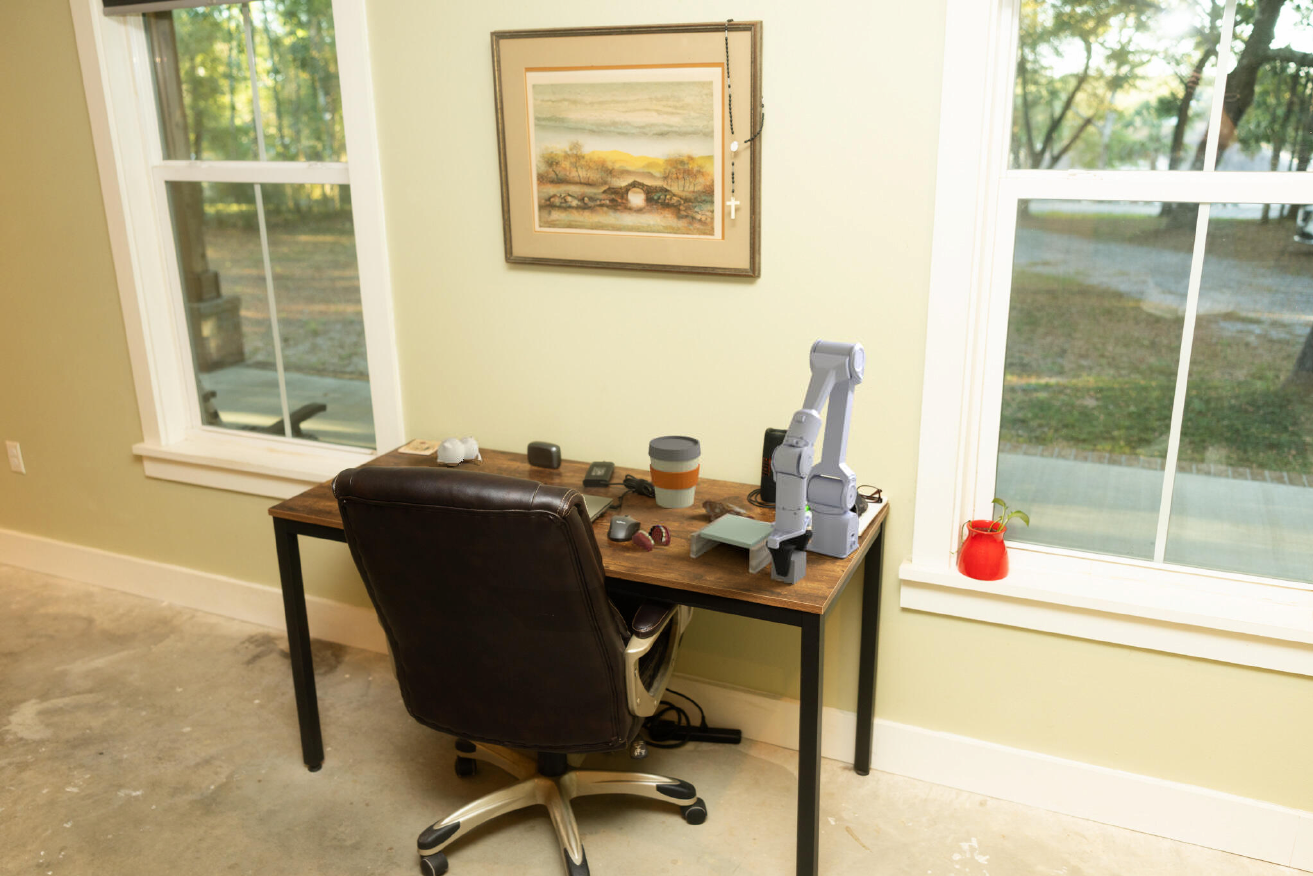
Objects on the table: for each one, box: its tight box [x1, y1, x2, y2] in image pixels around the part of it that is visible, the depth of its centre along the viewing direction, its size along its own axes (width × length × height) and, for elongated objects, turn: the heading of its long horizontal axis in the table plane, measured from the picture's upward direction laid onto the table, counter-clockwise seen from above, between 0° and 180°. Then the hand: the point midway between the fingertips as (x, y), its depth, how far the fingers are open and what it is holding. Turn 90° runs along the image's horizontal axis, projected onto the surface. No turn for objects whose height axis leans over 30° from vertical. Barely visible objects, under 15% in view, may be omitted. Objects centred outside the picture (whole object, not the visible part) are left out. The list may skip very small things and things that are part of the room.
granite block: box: [770, 550, 807, 585], centre depth 189 cm, size 5×5×5 cm
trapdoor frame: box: [689, 514, 772, 574], centre depth 201 cm, size 15×15×5 cm
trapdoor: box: [700, 515, 773, 550], centre depth 200 cm, size 12×12×1 cm
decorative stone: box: [702, 498, 757, 522], centre depth 218 cm, size 10×4×15 cm
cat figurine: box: [436, 435, 482, 463], centre depth 262 cm, size 9×11×12 cm
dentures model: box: [631, 524, 672, 552], centre depth 206 cm, size 6×4×8 cm
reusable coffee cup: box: [647, 435, 702, 509], centre depth 230 cm, size 13×13×15 cm
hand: (788, 570), depth 189 cm, fingers closed on granite block, 5 cm apart
